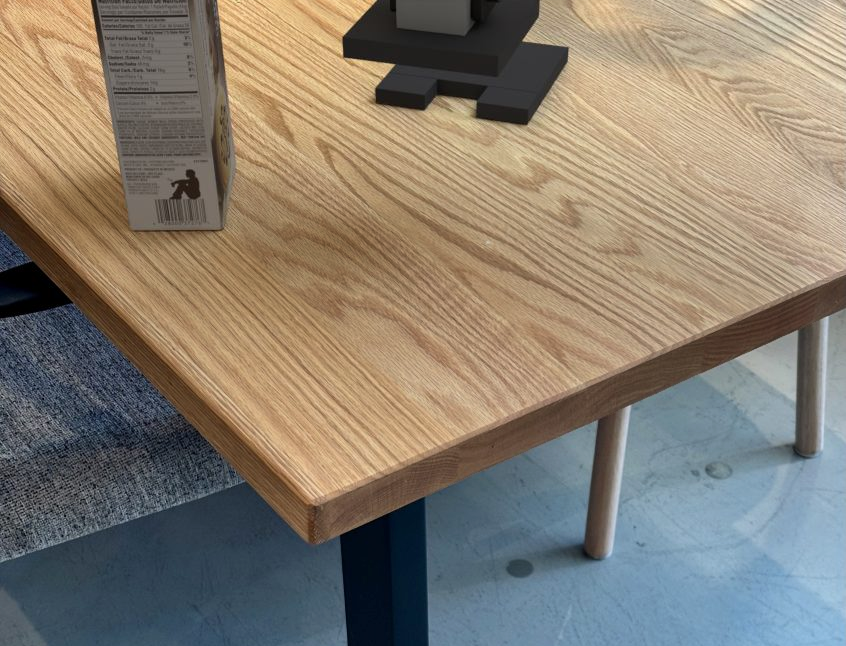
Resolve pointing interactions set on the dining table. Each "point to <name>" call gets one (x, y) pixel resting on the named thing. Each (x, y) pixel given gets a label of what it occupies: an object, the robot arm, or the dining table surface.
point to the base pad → (482, 84)
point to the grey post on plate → (441, 35)
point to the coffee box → (168, 110)
